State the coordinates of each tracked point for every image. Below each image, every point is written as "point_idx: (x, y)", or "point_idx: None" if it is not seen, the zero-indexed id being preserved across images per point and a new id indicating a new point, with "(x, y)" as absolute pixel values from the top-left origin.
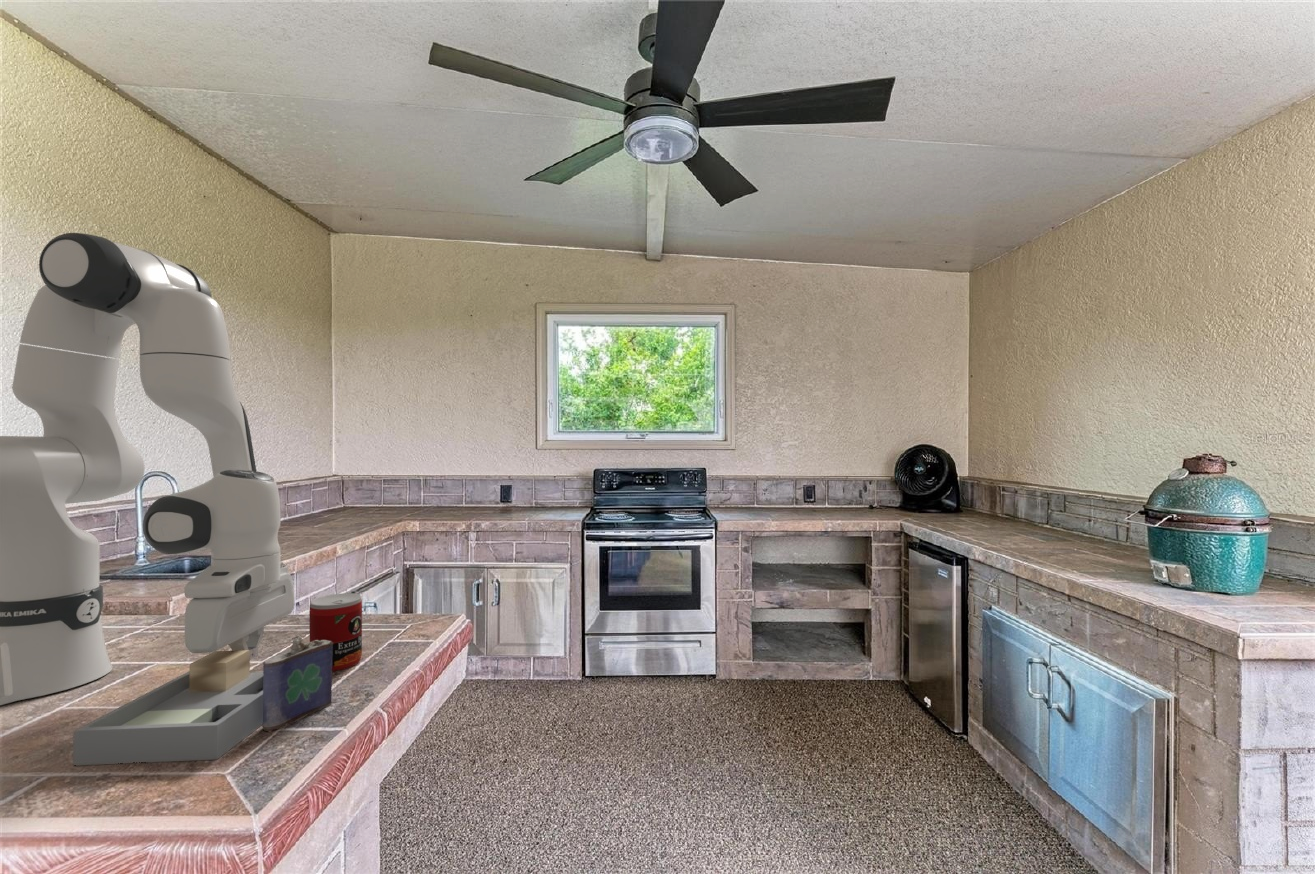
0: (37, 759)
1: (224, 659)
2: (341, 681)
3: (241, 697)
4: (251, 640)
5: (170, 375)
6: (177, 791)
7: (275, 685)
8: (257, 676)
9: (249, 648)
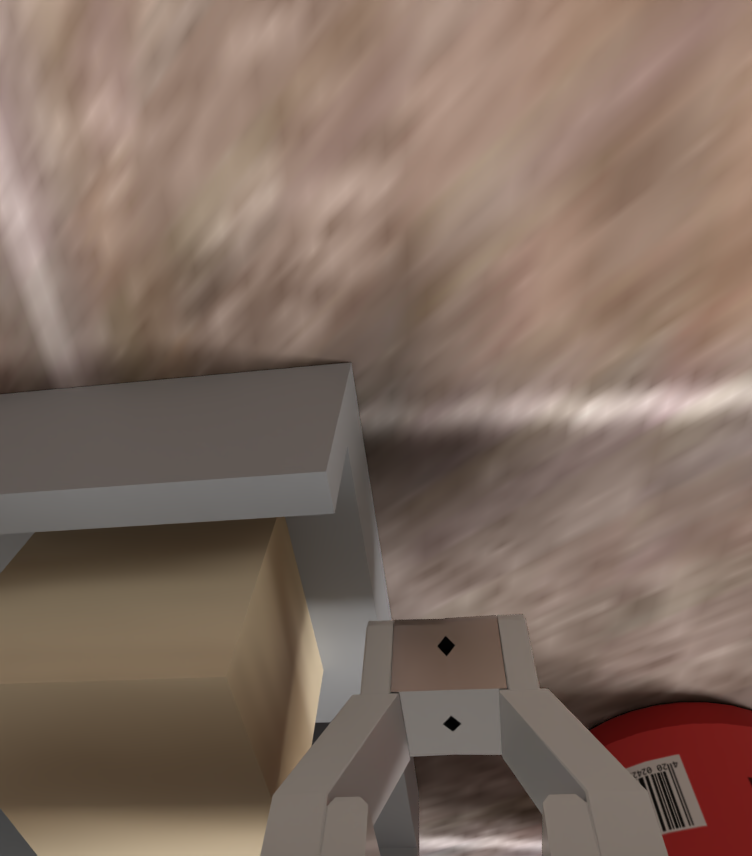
0: None
1: (85, 822)
2: (440, 847)
3: None
4: (538, 777)
5: None
6: None
7: None
8: (325, 704)
9: (468, 735)
